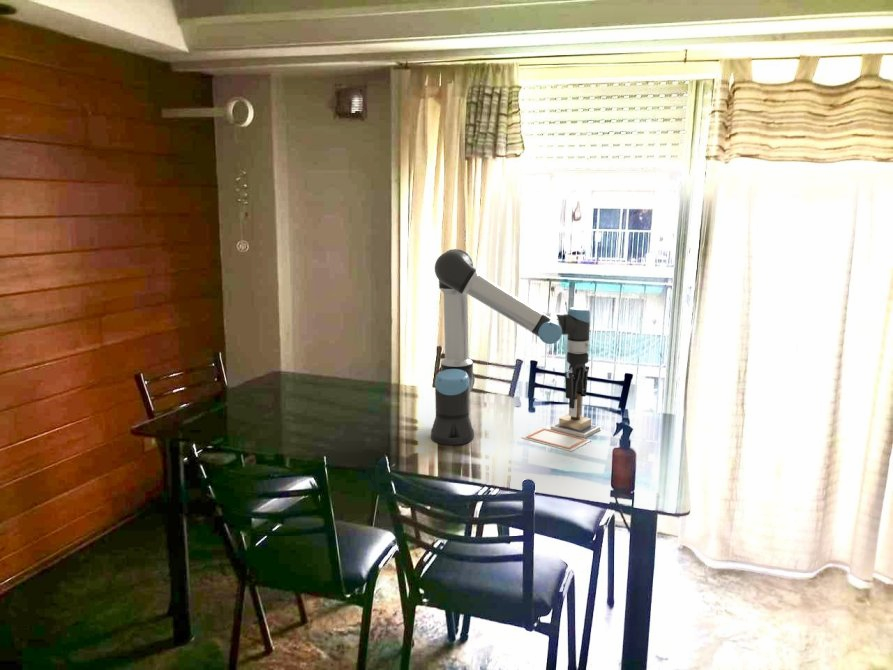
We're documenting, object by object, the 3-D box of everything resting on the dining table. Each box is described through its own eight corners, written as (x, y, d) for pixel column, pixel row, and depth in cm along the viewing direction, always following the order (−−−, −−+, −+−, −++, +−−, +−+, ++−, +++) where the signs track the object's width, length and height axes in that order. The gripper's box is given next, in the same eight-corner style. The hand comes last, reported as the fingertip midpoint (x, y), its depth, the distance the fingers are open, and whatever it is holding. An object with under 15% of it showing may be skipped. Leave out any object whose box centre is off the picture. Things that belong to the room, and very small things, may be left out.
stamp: (559, 425, 239) (560, 394, 237) (569, 420, 244) (570, 390, 242) (581, 430, 234) (582, 399, 231) (590, 425, 239) (592, 394, 236)
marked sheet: (521, 437, 231) (521, 436, 231) (542, 428, 241) (542, 426, 241) (571, 451, 218) (571, 450, 218) (591, 440, 228) (591, 439, 228)
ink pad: (550, 429, 240) (550, 425, 239) (566, 421, 248) (566, 418, 248) (584, 438, 231) (585, 434, 230) (600, 429, 239) (600, 426, 239)
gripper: (575, 357, 225) (572, 422, 230) (598, 349, 237) (595, 411, 242) (556, 353, 230) (554, 418, 235) (580, 346, 242) (577, 407, 247)
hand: (575, 414), depth 238 cm, fingers closed on stamp, 3 cm apart
